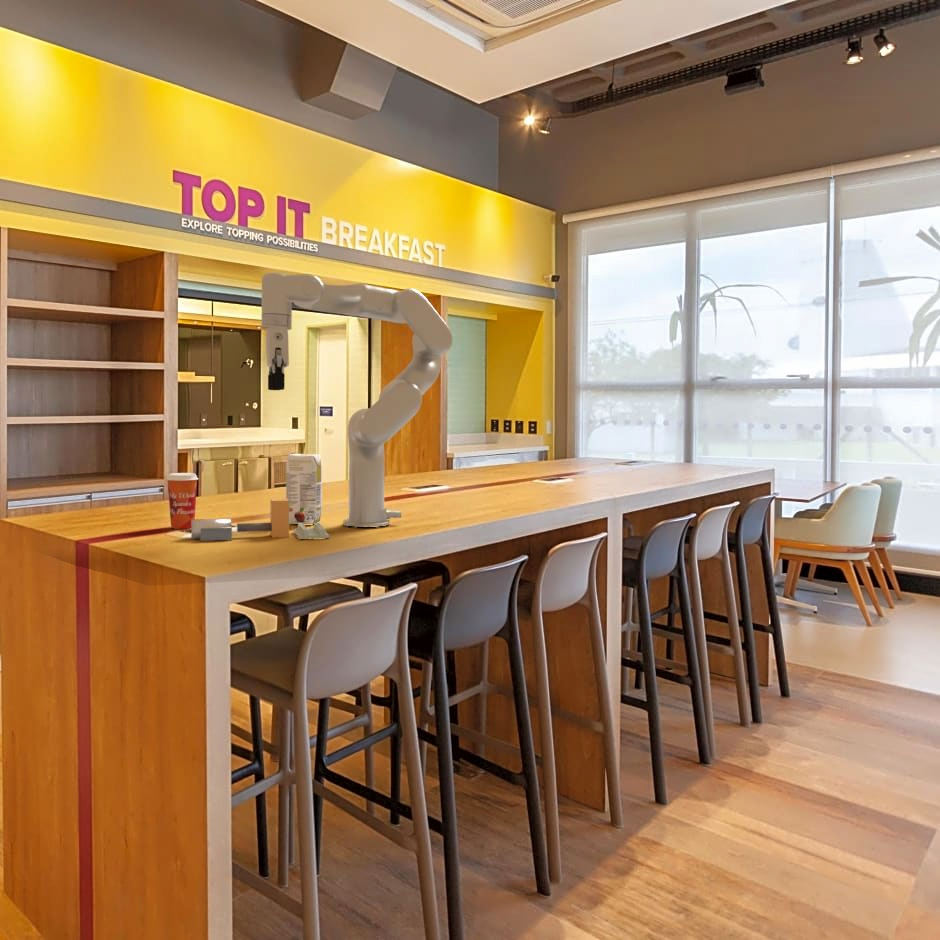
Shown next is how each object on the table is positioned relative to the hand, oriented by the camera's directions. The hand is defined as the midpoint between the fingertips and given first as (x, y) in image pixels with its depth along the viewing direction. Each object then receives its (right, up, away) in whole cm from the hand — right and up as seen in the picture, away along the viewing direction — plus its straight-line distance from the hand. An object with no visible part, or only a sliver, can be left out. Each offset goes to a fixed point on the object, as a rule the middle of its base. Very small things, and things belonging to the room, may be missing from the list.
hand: (276, 389), depth 203 cm
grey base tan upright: (-1, -37, -10) cm, 38 cm away
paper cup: (-24, -36, 0) cm, 43 cm away
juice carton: (+5, -36, +12) cm, 38 cm away
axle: (-12, -37, -14) cm, 42 cm away
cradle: (+11, -37, -8) cm, 39 cm away
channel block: (-11, -37, -14) cm, 41 cm away
